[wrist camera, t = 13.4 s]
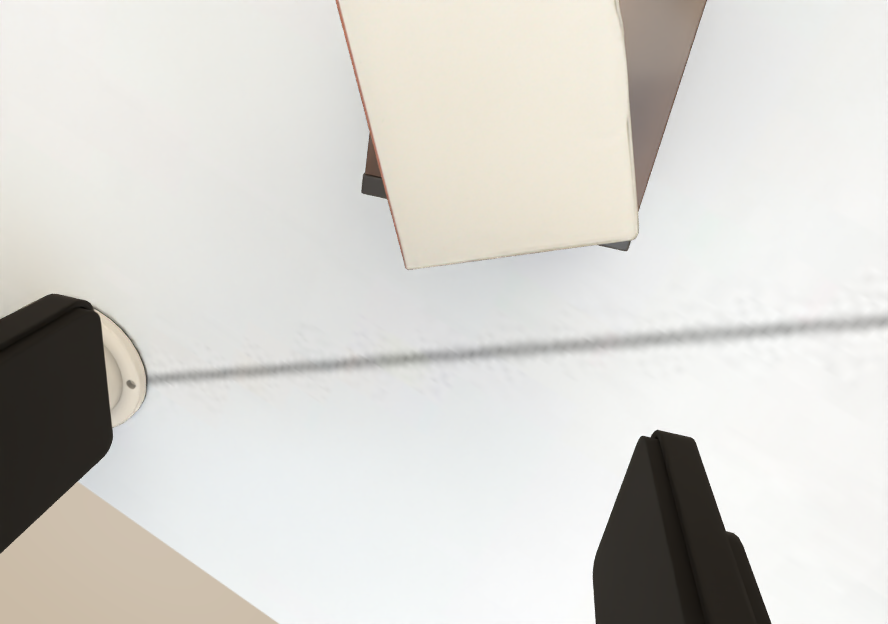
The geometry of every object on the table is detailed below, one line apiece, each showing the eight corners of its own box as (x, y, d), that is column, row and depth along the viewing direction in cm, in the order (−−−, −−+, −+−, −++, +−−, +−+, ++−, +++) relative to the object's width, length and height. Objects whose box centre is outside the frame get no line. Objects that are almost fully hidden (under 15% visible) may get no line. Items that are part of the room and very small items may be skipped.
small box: (430, -19, 25) (314, -62, 13) (587, -62, 23) (610, -153, 12) (469, 174, 28) (402, 277, 16) (610, 148, 26) (647, 241, 15)
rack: (414, 149, 40) (360, 193, 29) (451, -101, 34) (399, -161, 23) (609, 191, 39) (627, 252, 28) (684, -60, 33) (743, -103, 22)
